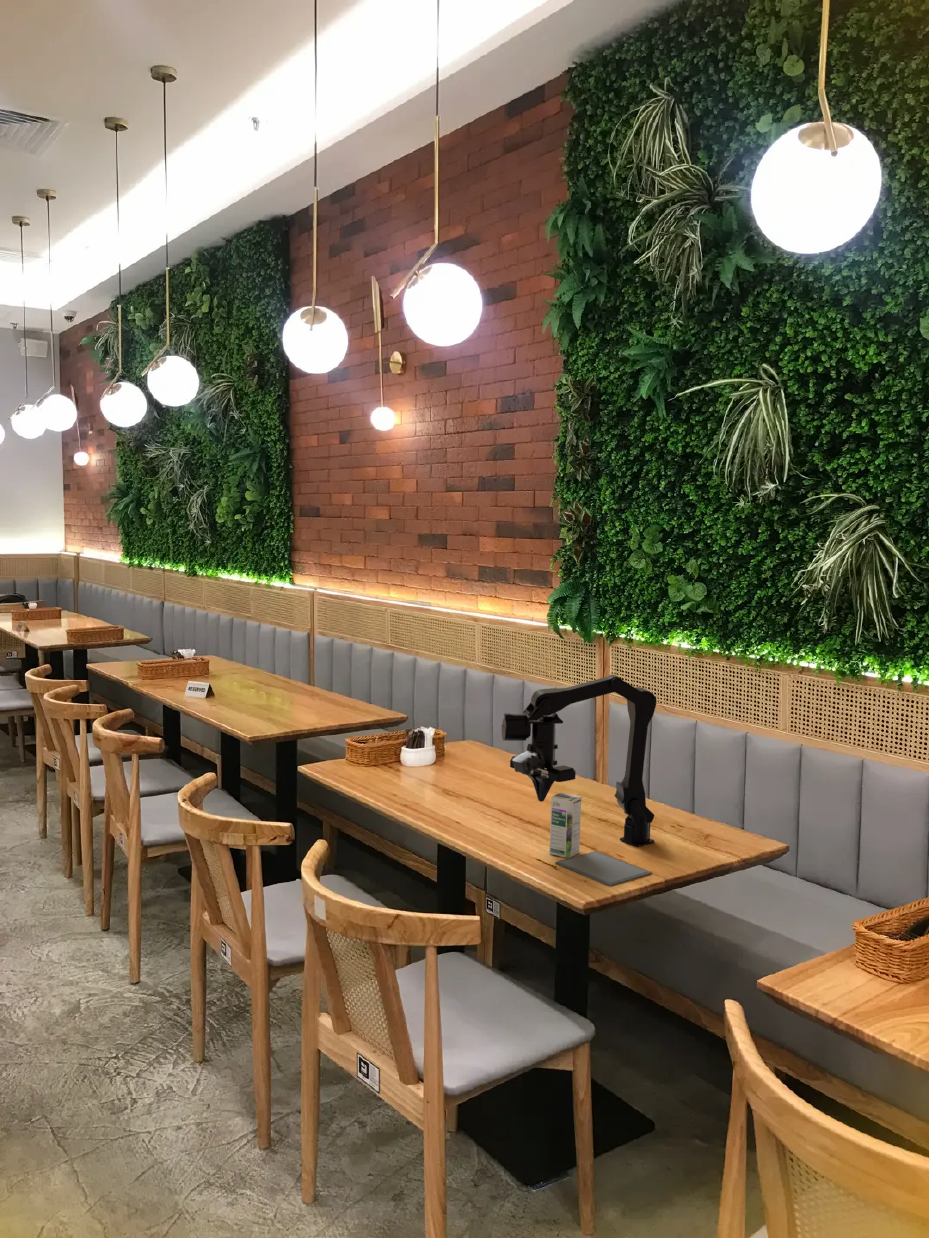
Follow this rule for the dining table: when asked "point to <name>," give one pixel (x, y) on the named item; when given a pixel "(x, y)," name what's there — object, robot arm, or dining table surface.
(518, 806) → the dining table surface
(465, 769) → the dining table surface
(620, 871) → the mat
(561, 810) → the syrup box
